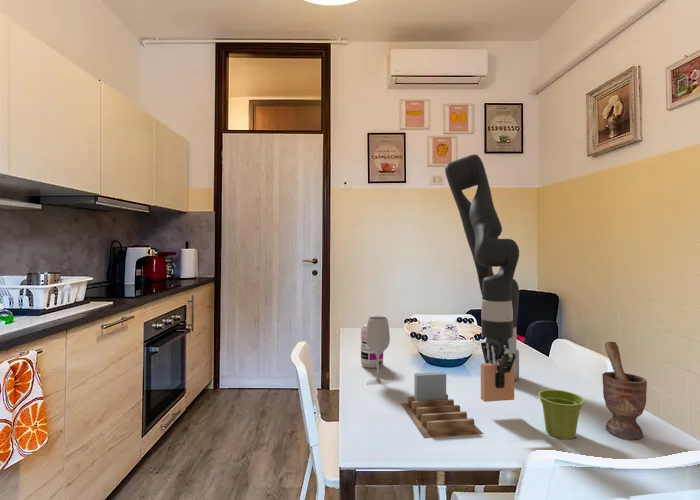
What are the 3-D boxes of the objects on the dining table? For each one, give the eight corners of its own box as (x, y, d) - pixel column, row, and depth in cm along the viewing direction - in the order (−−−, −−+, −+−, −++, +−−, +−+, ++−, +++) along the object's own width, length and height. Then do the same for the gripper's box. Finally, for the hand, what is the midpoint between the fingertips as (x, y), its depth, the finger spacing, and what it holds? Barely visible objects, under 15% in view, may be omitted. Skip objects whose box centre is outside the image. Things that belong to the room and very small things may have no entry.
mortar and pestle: (584, 420, 101) (584, 341, 101) (613, 418, 103) (614, 339, 103) (623, 442, 90) (623, 352, 90) (656, 439, 92) (656, 351, 91)
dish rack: (449, 405, 112) (449, 391, 111) (483, 439, 92) (483, 422, 92) (400, 407, 110) (400, 393, 110) (424, 443, 90) (424, 426, 90)
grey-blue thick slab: (443, 405, 108) (443, 371, 108) (446, 408, 106) (446, 374, 106) (414, 407, 107) (414, 373, 107) (416, 410, 105) (416, 375, 105)
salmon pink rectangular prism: (510, 396, 104) (510, 362, 104) (514, 399, 102) (514, 364, 102) (480, 398, 103) (480, 363, 103) (484, 401, 101) (484, 365, 101)
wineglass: (388, 388, 125) (388, 320, 125) (364, 386, 126) (364, 319, 126) (391, 380, 132) (391, 316, 132) (368, 379, 134) (367, 315, 133)
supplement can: (385, 363, 152) (385, 323, 152) (379, 369, 144) (379, 327, 144) (364, 361, 154) (364, 322, 154) (358, 367, 147) (358, 326, 147)
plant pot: (593, 442, 90) (593, 403, 90) (552, 444, 89) (553, 405, 89) (567, 424, 99) (567, 389, 99) (530, 425, 99) (530, 390, 99)
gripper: (526, 322, 96) (526, 394, 96) (496, 312, 110) (497, 376, 110) (496, 323, 95) (497, 397, 95) (470, 313, 109) (471, 378, 109)
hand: (497, 385), depth 103 cm, fingers closed on salmon pink rectangular prism, 1 cm apart
